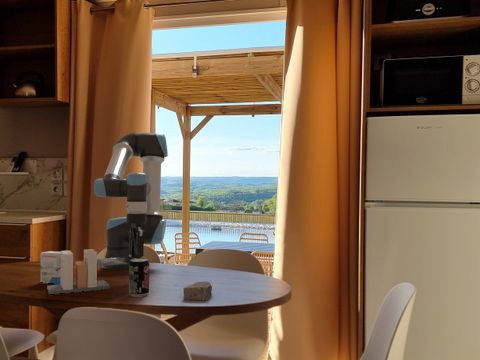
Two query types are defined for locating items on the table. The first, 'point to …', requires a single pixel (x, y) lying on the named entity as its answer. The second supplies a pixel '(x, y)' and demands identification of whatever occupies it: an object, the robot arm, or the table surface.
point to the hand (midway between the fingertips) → (135, 273)
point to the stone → (198, 291)
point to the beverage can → (138, 277)
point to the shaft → (115, 260)
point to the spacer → (80, 274)
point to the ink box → (50, 267)
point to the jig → (67, 274)
